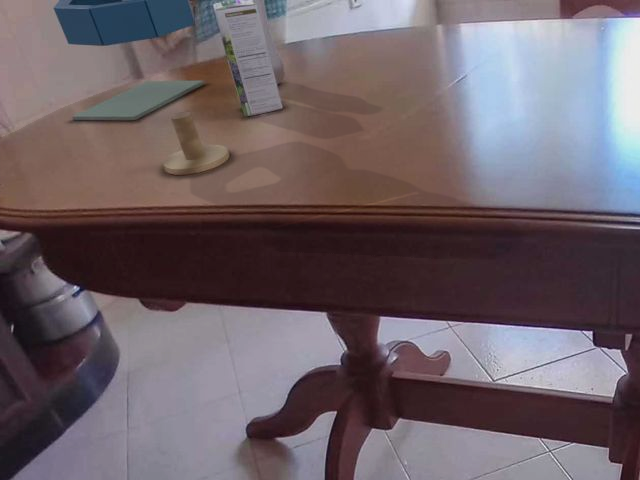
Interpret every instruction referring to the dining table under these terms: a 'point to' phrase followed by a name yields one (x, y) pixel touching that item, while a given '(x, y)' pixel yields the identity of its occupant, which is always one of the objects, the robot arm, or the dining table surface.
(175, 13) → the blue ring
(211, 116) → the dining table surface
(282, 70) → the plastic bottle
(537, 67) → the dining table surface
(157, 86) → the rubber mat
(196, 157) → the dowel stand
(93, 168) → the dining table surface
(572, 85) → the dining table surface
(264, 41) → the syrup box
